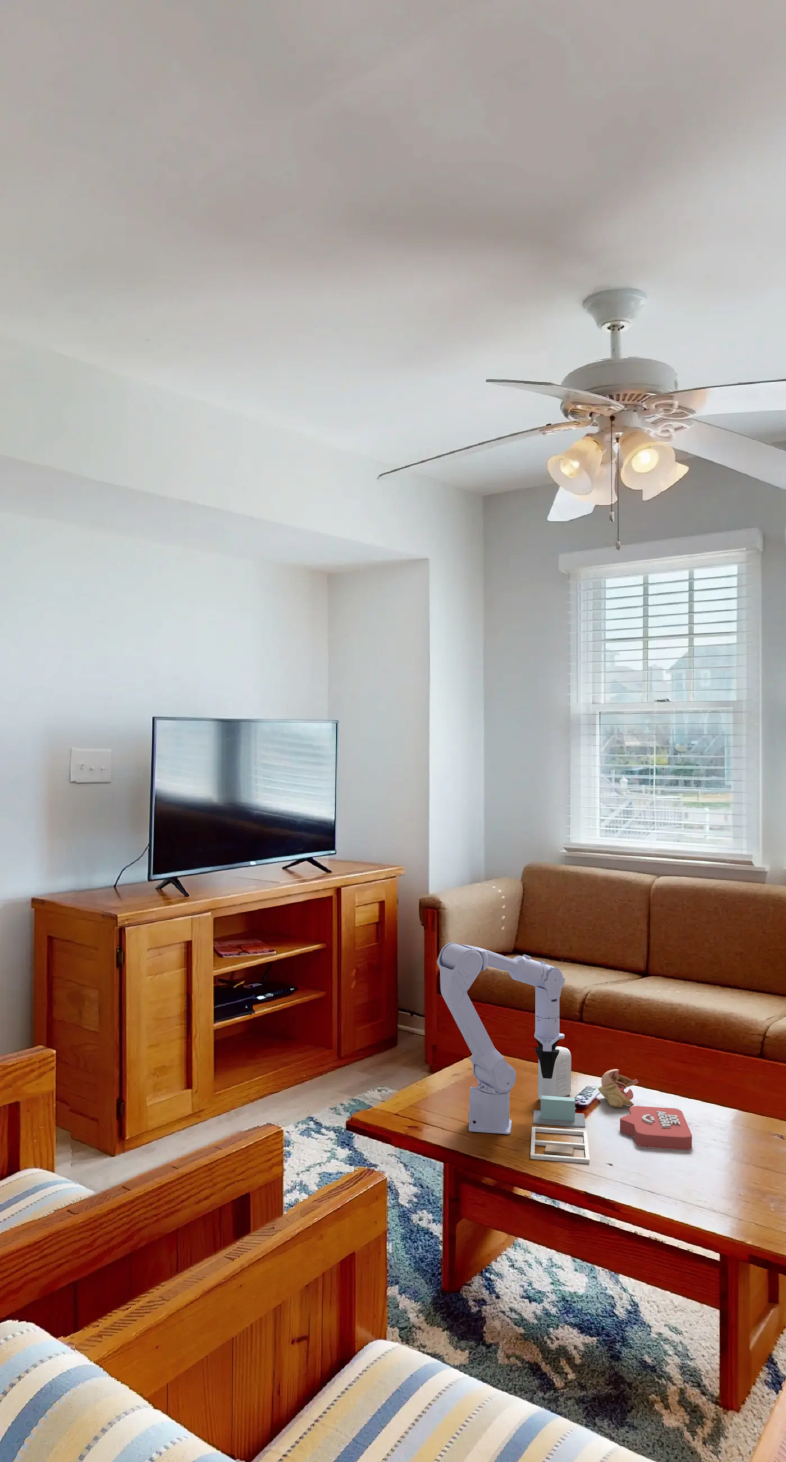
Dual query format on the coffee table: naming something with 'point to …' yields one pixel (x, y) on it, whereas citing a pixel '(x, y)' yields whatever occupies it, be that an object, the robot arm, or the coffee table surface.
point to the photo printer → (557, 1076)
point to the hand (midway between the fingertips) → (547, 1072)
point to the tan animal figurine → (616, 1088)
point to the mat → (577, 1123)
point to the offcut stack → (559, 1150)
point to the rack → (567, 1144)
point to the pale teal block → (558, 1108)
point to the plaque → (657, 1127)
